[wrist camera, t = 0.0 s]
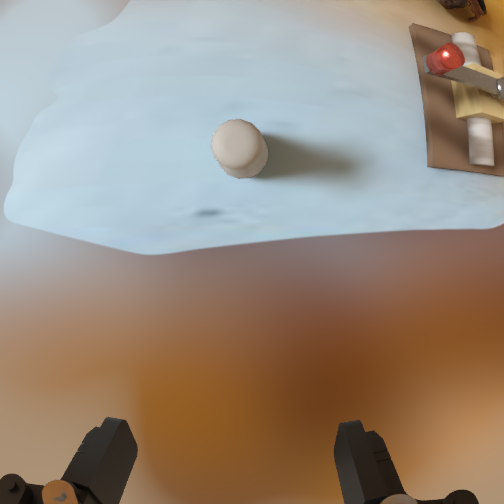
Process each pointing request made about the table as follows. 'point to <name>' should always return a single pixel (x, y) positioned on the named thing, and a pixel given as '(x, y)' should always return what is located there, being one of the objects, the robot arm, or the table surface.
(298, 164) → the table surface
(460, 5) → the pottery mug
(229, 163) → the salt shaker
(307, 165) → the table surface
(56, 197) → the table surface
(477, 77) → the valve lever
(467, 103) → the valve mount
